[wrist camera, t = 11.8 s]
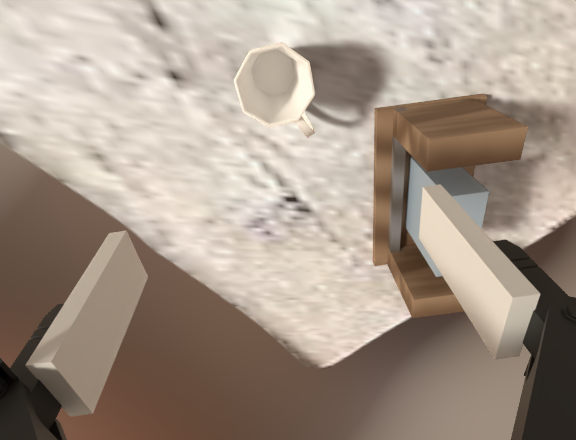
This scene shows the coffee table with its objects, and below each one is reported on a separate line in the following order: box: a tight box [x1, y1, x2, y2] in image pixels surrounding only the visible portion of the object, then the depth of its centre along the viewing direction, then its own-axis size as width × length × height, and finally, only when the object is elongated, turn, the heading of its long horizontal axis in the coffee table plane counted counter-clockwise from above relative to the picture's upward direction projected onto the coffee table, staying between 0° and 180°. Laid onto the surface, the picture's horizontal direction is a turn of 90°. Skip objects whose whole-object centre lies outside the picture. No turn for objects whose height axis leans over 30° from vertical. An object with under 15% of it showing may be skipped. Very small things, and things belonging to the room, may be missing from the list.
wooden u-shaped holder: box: [373, 94, 528, 318], centre depth 41 cm, size 22×12×11 cm, turn 7°
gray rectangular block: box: [405, 156, 489, 277], centre depth 40 cm, size 10×4×10 cm, turn 7°
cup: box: [234, 42, 315, 137], centre depth 34 cm, size 7×10×8 cm
